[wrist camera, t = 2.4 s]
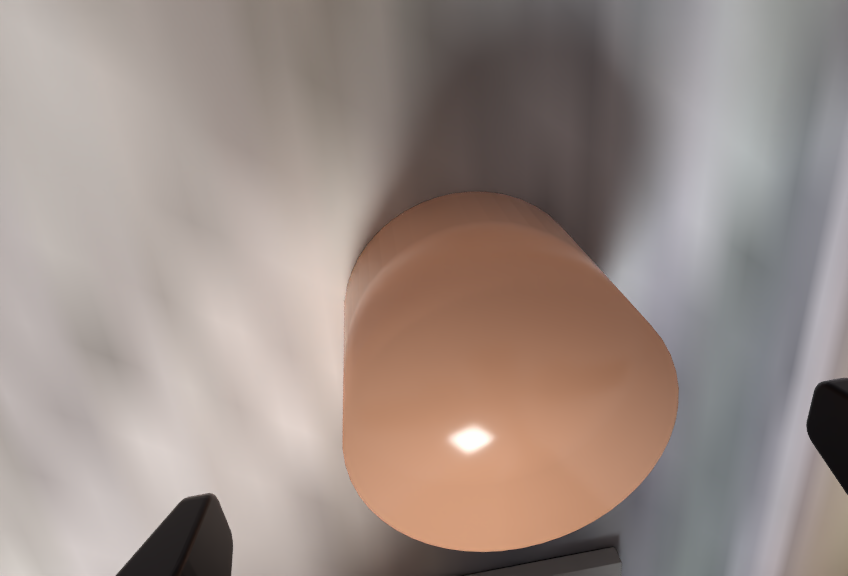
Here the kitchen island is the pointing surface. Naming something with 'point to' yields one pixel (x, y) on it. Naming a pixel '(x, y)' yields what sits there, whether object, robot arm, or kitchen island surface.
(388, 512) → the peach rounded cylinder
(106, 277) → the kitchen island surface
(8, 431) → the kitchen island surface
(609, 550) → the mat
